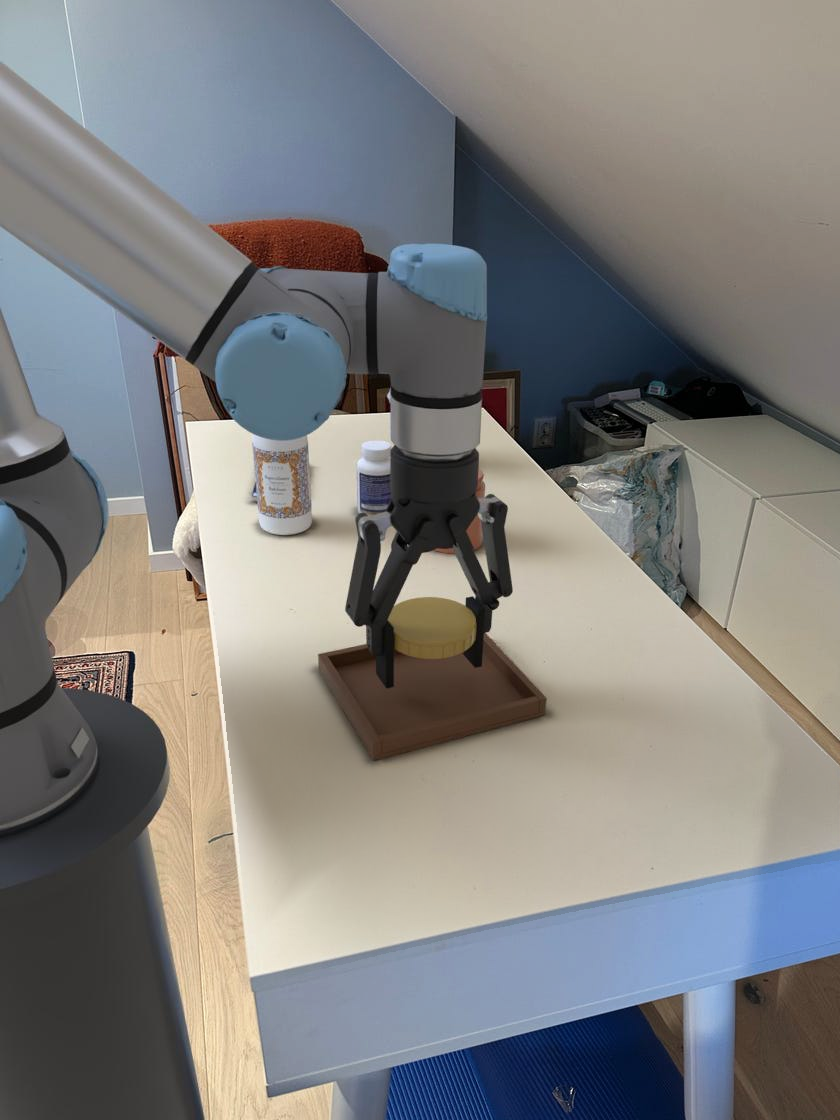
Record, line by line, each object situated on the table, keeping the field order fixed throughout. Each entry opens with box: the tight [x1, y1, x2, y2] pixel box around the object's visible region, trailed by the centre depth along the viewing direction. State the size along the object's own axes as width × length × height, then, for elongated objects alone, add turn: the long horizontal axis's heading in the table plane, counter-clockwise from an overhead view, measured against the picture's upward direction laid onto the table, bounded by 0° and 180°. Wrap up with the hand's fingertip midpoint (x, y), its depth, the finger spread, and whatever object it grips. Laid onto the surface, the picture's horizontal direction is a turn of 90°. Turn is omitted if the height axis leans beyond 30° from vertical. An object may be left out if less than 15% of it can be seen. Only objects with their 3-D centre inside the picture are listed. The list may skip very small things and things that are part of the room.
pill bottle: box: [356, 440, 392, 516], centre depth 122 cm, size 5×5×10 cm
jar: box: [434, 468, 486, 554], centre depth 116 cm, size 8×8×10 cm
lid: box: [388, 596, 477, 659], centre depth 84 cm, size 9×9×2 cm
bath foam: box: [251, 434, 313, 536], centre depth 114 cm, size 7×7×20 cm
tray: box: [317, 633, 548, 761], centre depth 88 cm, size 18×16×2 cm
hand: (429, 669), depth 87 cm, fingers open, 9 cm apart
